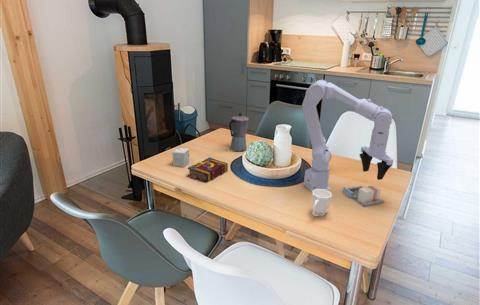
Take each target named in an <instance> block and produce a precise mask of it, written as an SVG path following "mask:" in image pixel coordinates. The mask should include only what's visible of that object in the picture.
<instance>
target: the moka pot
mask: <svg viewBox="0 0 480 305" xmlns="http://www.w3.org/2000/svg"><path fill="white" fill-rule="evenodd" d="M249 121H250V119H249V117H248V116H245V115H243V114H242V113H241V112H238V115H237V116H234V115H233V116H232V117H230V122H229V123H228V125H229V126H228V127H229V130H230V131H229V132H230V136H231V142H230V151H231V150H232V151H234V152H244V151H246V150H247V140H246V139H247V138H246V135H247V132H248V126H249Z"/></svg>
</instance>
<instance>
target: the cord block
mask: <svg viewBox="0 0 480 305" xmlns="http://www.w3.org/2000/svg"><path fill="white" fill-rule="evenodd" d="M380 195H381V189H380V188H379V187H377V186H376V185H369V186H365V187H363V188H359V194H358V200H359V201H360V202H361V203H368V202H373V201H378V200H379V199H380Z"/></svg>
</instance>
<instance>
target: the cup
mask: <svg viewBox="0 0 480 305" xmlns="http://www.w3.org/2000/svg"><path fill="white" fill-rule="evenodd" d="M332 197H333V196H332V192H331V191H329V190H325V189H316V190H313V192H312V206H313V207H312V215H313V216H314V217H323V216H325V215H326V213H327V211H328V209H329V206H330V202H331V199H332Z"/></svg>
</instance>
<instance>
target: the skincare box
mask: <svg viewBox="0 0 480 305" xmlns="http://www.w3.org/2000/svg"><path fill="white" fill-rule="evenodd" d="M171 154H172V165H173V167H179V168H185V167H186V166H187V165H188V164H190V163H191V162H190V149H189V148H187V147H186V148H184V147H177V148H175V149H174V150H172V153H171Z"/></svg>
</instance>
